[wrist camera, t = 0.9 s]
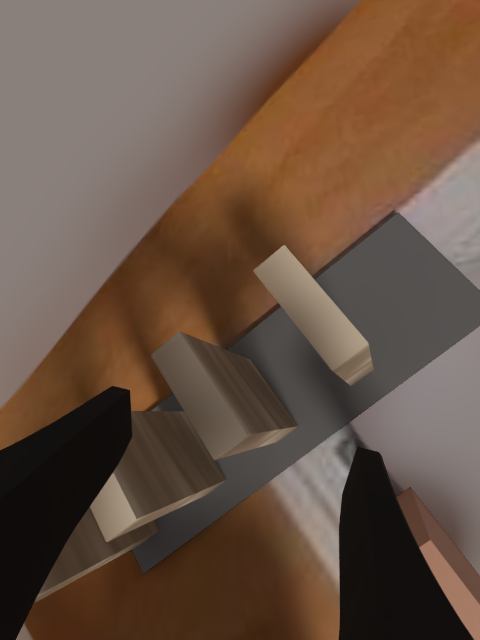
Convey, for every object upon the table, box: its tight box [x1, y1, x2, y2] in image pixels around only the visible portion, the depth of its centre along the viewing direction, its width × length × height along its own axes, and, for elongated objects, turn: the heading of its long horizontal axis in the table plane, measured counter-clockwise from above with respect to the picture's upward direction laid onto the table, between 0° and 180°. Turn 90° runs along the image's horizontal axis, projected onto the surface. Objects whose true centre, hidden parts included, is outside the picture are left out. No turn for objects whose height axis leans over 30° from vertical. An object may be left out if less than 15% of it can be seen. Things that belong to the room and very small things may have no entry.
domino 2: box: [90, 411, 227, 542], centre depth 22 cm, size 2×5×10 cm, turn 36°
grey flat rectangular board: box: [132, 212, 480, 574], centre depth 26 cm, size 8×26×1 cm, turn 126°
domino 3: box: [33, 507, 159, 604], centre depth 22 cm, size 2×5×10 cm, turn 36°
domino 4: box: [253, 245, 374, 386], centre depth 20 cm, size 2×5×10 cm, turn 36°
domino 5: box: [397, 487, 480, 640], centre depth 17 cm, size 2×5×10 cm, turn 36°
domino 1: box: [151, 331, 298, 460], centre depth 21 cm, size 2×5×10 cm, turn 36°
